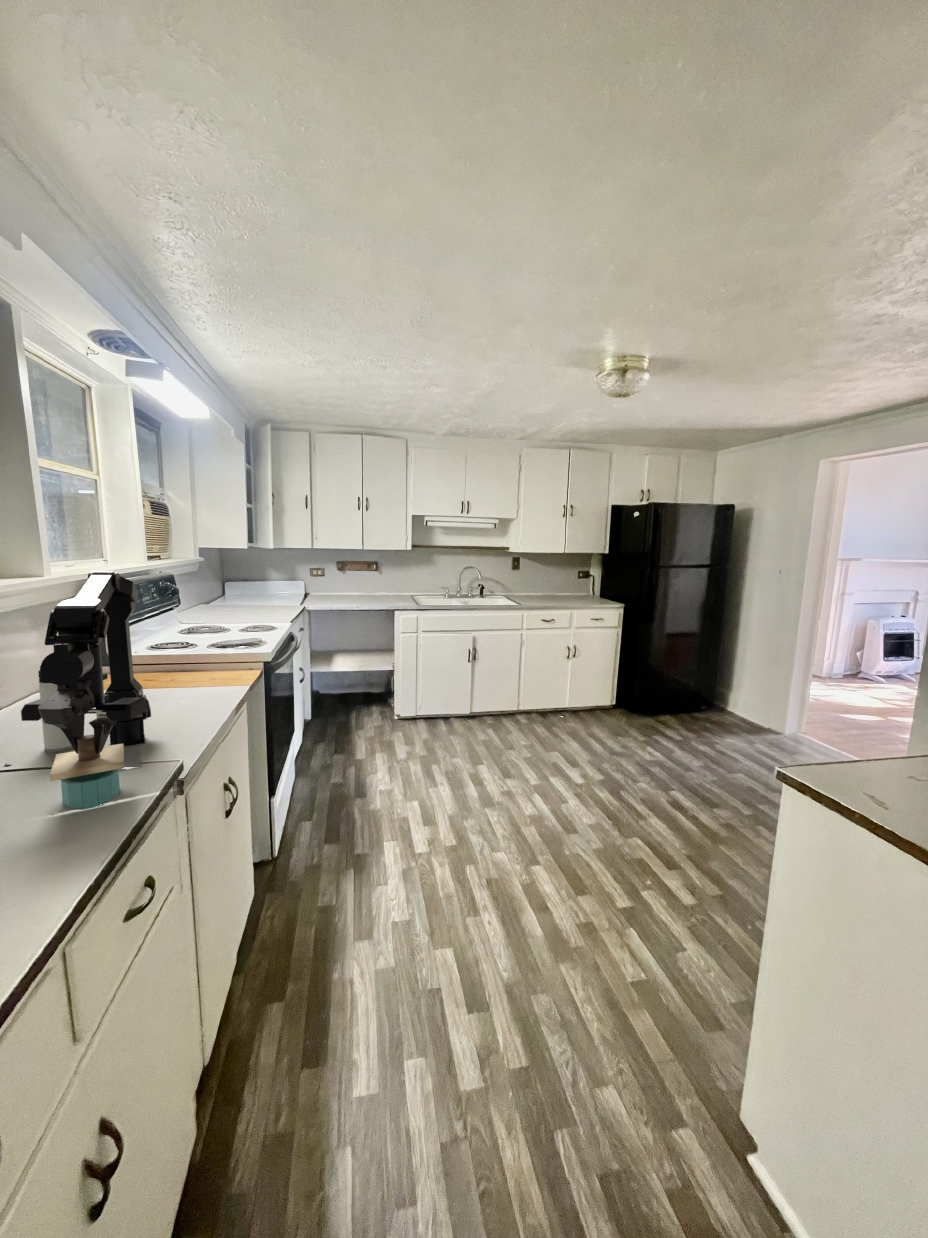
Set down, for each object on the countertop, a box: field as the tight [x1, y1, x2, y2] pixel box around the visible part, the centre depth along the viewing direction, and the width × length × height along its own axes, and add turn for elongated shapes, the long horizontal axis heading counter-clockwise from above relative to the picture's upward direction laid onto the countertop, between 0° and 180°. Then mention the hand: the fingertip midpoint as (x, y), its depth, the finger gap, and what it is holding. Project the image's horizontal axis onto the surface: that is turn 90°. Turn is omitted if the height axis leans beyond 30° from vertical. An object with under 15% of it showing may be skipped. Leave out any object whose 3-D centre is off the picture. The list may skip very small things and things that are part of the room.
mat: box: [118, 748, 142, 773], centre depth 107 cm, size 12×12×1 cm
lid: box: [49, 733, 125, 782], centre depth 92 cm, size 10×10×5 cm
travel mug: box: [37, 669, 73, 753], centre depth 114 cm, size 6×7×20 cm
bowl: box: [60, 769, 121, 811], centre depth 92 cm, size 8×8×5 cm
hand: (89, 752), depth 92 cm, fingers closed on lid, 3 cm apart
